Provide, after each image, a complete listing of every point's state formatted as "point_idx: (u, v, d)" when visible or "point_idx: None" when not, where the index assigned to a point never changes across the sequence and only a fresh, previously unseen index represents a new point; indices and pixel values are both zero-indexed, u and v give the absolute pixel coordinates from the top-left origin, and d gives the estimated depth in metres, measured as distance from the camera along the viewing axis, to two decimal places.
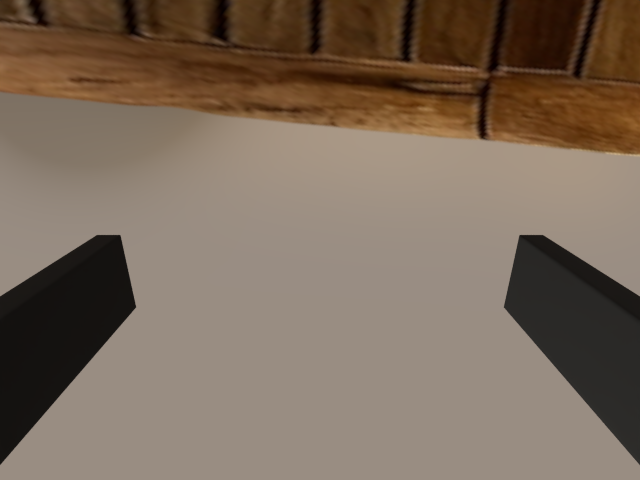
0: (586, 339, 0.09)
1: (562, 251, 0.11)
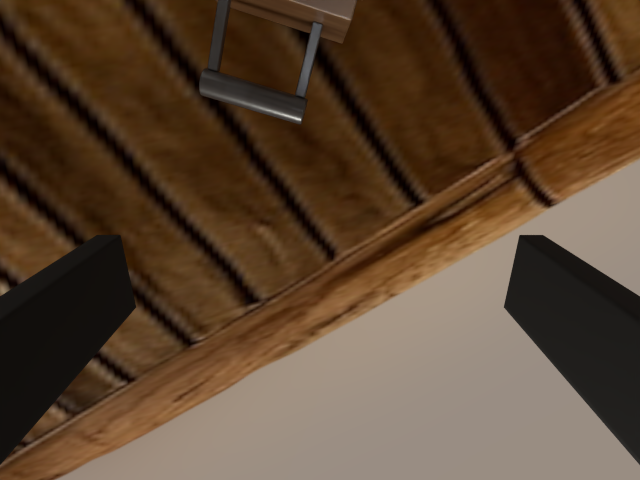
0: (585, 339, 0.09)
1: (562, 251, 0.11)
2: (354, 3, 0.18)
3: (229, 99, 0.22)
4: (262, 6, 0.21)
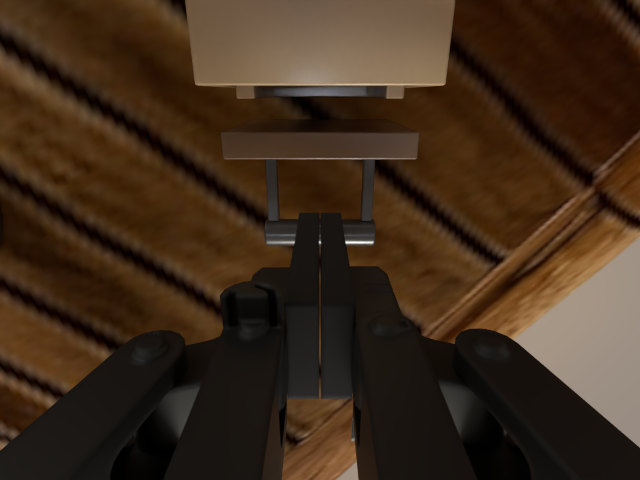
0: None
1: (337, 224, 0.13)
2: (417, 142, 0.16)
3: None
4: None
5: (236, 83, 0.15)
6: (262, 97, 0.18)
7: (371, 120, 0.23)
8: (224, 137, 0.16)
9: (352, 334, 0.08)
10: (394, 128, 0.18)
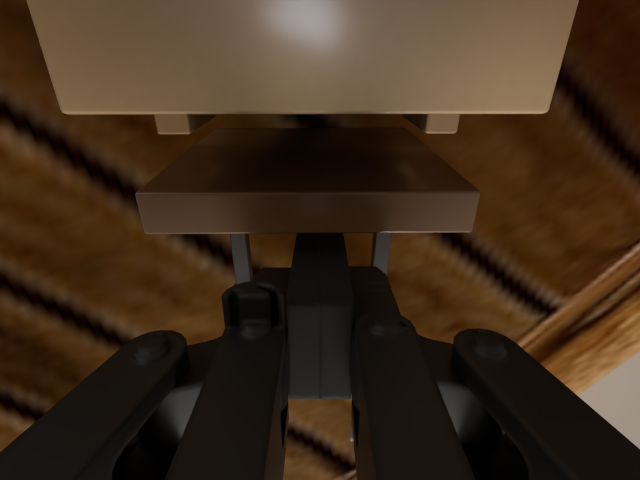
0: None
1: None
2: (474, 207, 0.10)
3: None
4: None
5: (142, 111, 0.07)
6: (213, 117, 0.11)
7: (385, 132, 0.16)
8: (142, 201, 0.09)
9: (350, 334, 0.08)
10: (431, 170, 0.11)
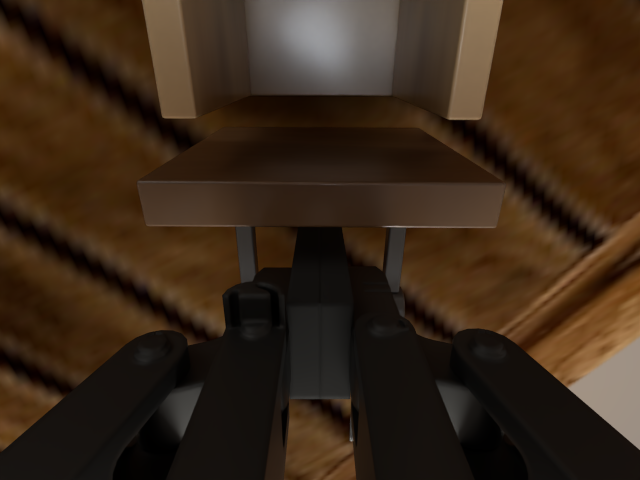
0: None
1: None
2: (499, 200, 0.09)
3: None
4: None
5: None
6: None
7: (398, 131, 0.15)
8: (143, 190, 0.09)
9: (350, 334, 0.08)
10: (450, 164, 0.10)
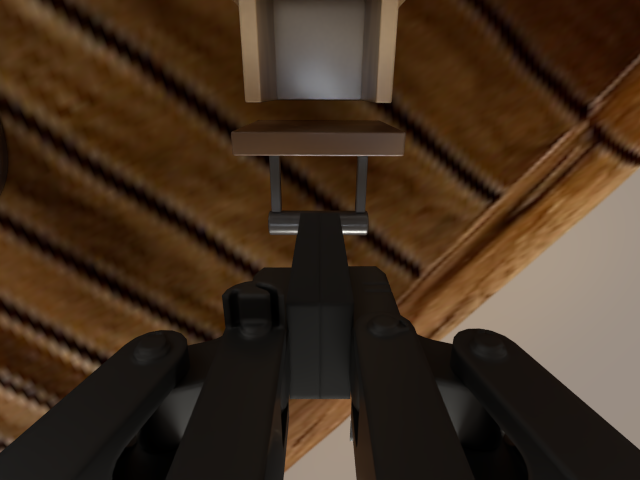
0: None
1: (336, 224, 0.13)
2: (403, 141, 0.19)
3: None
4: None
5: None
6: (267, 100, 0.20)
7: (365, 121, 0.25)
8: (234, 136, 0.19)
9: (350, 334, 0.08)
10: (384, 128, 0.20)
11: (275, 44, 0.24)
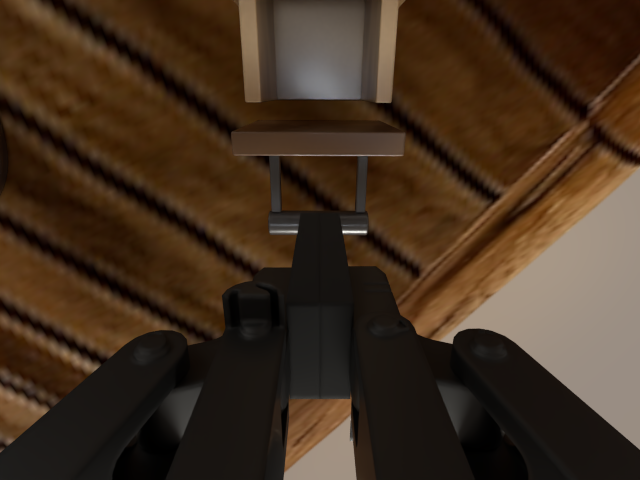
0: None
1: (336, 224, 0.13)
2: (403, 141, 0.19)
3: None
4: None
5: None
6: (267, 100, 0.20)
7: (365, 121, 0.25)
8: (234, 136, 0.19)
9: (350, 334, 0.08)
10: (384, 128, 0.20)
11: (275, 44, 0.24)
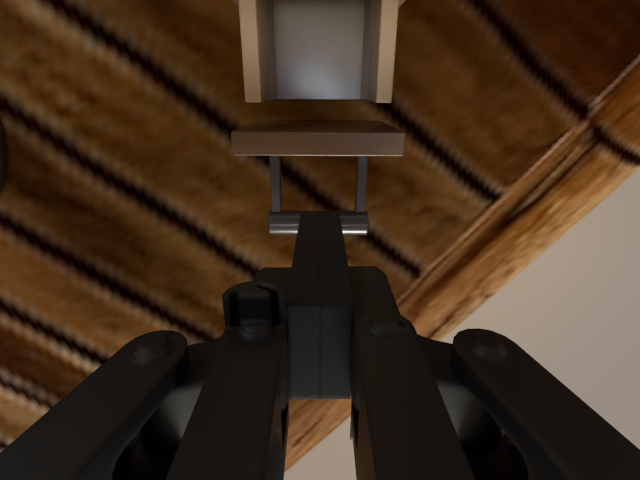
0: None
1: (336, 224, 0.13)
2: (403, 141, 0.19)
3: None
4: None
5: None
6: (267, 100, 0.20)
7: (365, 121, 0.25)
8: (234, 136, 0.19)
9: (350, 334, 0.08)
10: (384, 128, 0.20)
11: (275, 44, 0.24)
